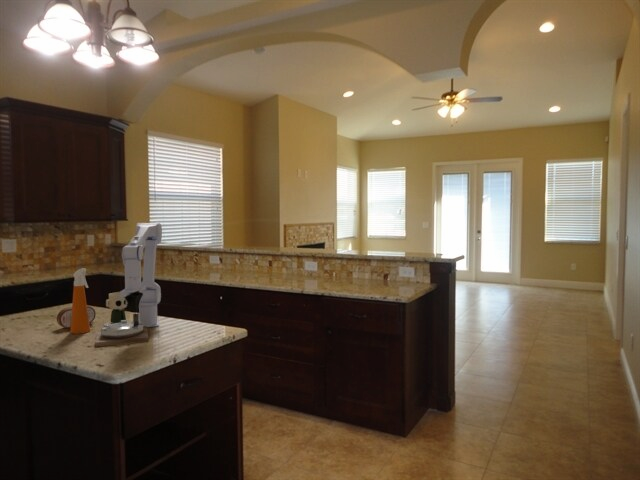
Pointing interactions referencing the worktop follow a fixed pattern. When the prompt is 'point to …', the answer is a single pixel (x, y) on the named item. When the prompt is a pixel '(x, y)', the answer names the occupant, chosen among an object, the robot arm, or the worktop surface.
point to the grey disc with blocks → (123, 328)
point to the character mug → (116, 307)
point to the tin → (66, 315)
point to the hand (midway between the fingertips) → (133, 311)
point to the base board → (121, 339)
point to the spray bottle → (79, 304)
